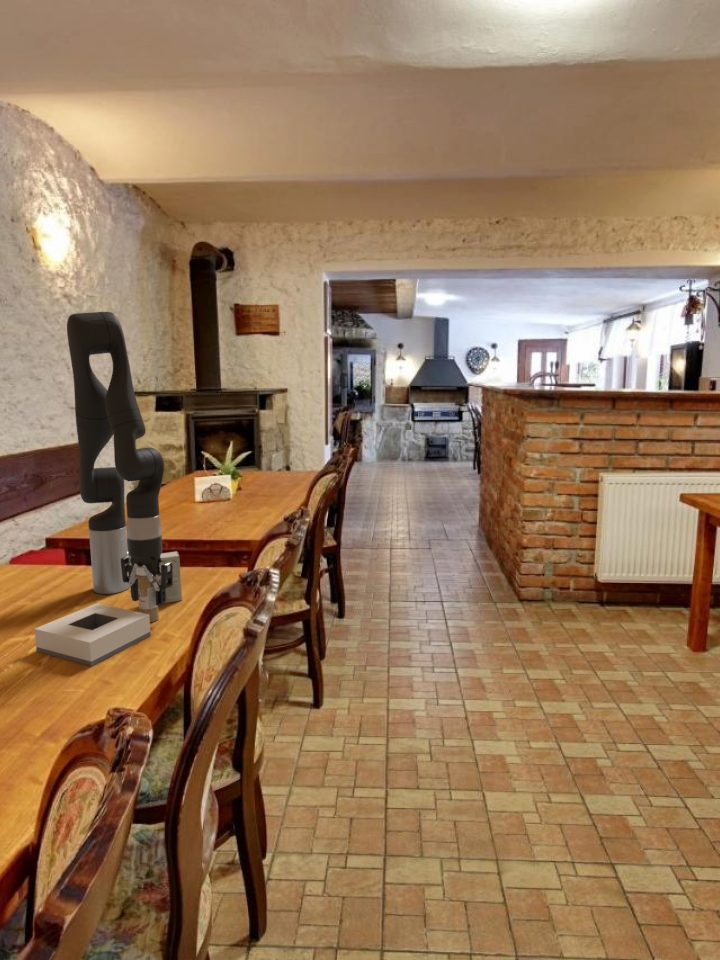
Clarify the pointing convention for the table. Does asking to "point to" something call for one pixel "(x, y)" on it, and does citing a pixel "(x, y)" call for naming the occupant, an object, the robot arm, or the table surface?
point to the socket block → (92, 633)
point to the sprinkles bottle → (147, 595)
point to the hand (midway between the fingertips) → (148, 602)
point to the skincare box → (175, 590)
